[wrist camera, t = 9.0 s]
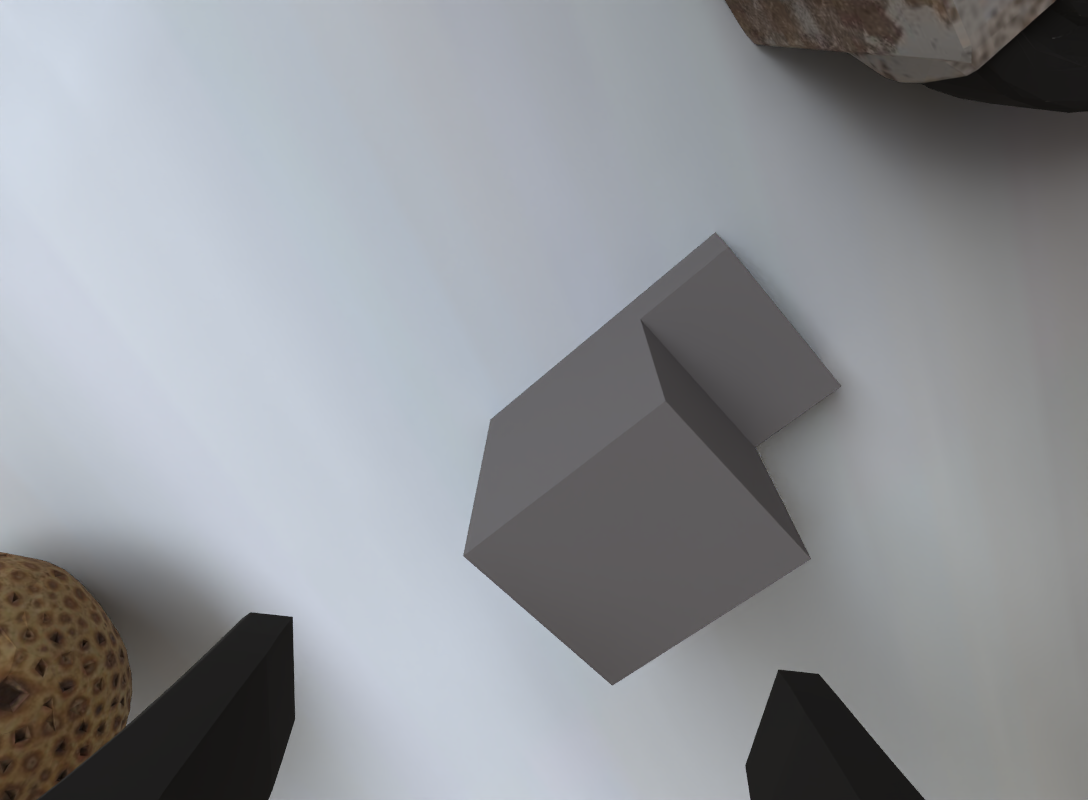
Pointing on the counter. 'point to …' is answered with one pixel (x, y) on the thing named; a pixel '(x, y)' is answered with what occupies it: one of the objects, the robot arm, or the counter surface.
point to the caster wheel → (944, 43)
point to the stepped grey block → (649, 468)
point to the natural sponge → (54, 677)
